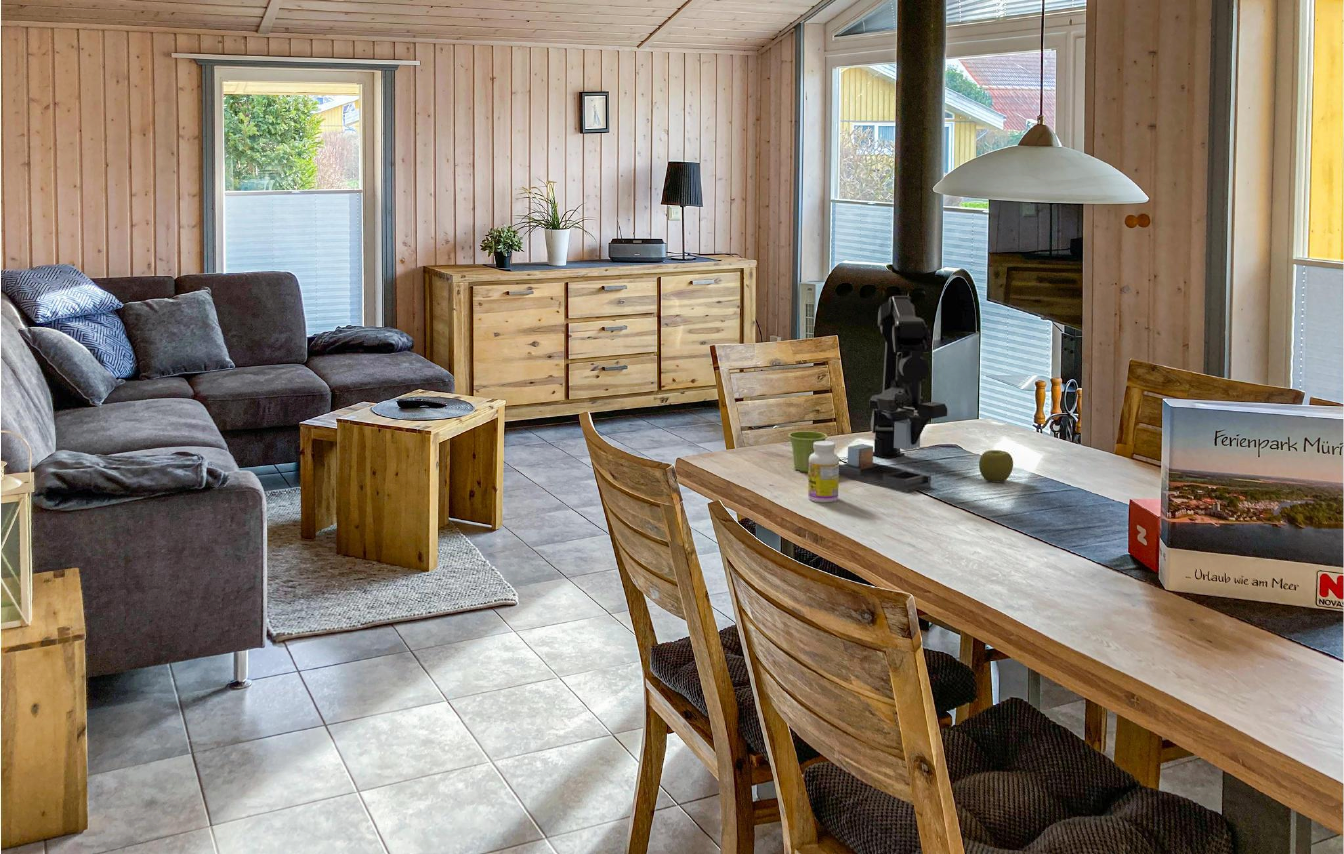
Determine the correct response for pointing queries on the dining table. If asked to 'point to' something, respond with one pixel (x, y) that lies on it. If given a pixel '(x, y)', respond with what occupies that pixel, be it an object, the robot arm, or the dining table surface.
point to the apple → (995, 465)
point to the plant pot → (804, 447)
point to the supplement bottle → (823, 473)
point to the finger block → (903, 435)
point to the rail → (880, 471)
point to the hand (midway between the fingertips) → (906, 442)
